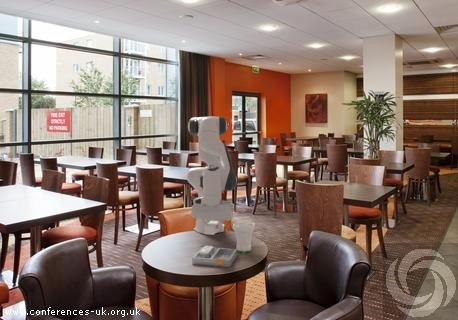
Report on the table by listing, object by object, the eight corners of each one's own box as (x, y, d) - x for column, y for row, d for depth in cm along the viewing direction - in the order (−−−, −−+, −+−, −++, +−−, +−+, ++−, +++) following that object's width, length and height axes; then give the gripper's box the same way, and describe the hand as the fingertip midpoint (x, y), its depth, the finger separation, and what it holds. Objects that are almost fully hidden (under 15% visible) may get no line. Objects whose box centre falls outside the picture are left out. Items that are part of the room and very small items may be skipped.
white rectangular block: (210, 228, 198) (210, 220, 197) (219, 229, 197) (219, 221, 196) (204, 234, 188) (204, 225, 188) (213, 234, 187) (213, 226, 187)
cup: (248, 255, 199) (248, 228, 198) (229, 252, 204) (229, 225, 203) (258, 249, 209) (258, 222, 207) (239, 246, 214) (239, 220, 213)
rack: (202, 252, 204) (202, 243, 204) (237, 255, 200) (237, 245, 200) (192, 264, 188) (191, 254, 187) (229, 267, 184) (229, 257, 183)
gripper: (234, 199, 191) (234, 228, 193) (194, 197, 197) (194, 225, 198) (231, 202, 185) (231, 231, 187) (189, 200, 190) (190, 228, 192)
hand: (212, 228), depth 192 cm, fingers closed on white rectangular block, 4 cm apart
